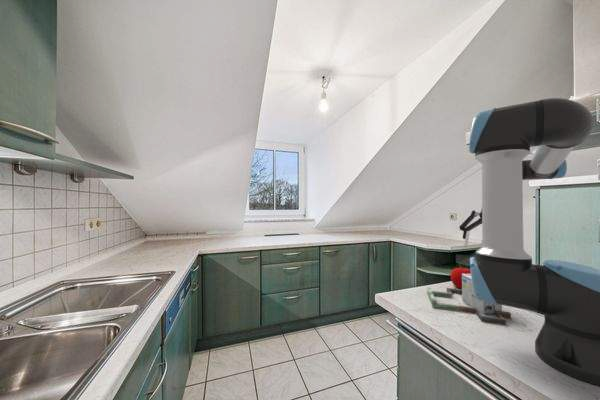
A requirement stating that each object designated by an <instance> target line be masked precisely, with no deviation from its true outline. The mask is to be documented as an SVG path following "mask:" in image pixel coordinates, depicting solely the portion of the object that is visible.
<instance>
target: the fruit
mask: <svg viewBox="0 0 600 400" xmlns="http://www.w3.org/2000/svg"><path fill="white" fill-rule="evenodd" d="M462 274H471V270H470V269H469V268H464V267H462V266H461V264H459V267H457V268H456V267H455V268H453V269H452V271H451V272H450V281H451V282H452V284H453V285H454V287H456V288H457V289H462Z"/></svg>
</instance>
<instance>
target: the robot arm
mask: <svg viewBox="0 0 600 400" xmlns="http://www.w3.org/2000/svg"><path fill="white" fill-rule="evenodd" d="M594 119H595V118H594V116H593V114H592V112H591V111H590V110H589V109H588V108H587V107H586V106H585V105H584V104H582V103H579V102H577V101H574V100H571V99H567V98H562V97H560V98H558V97H554V98H553V97H552V98H550V97H549V98H544V99H540V100H535V101H530V102H525V103H517V104H514V105H508V106H503V107H497V108H496V107H494V108H492V109H488V110H483V111H479V112H478V113H477V114H475V116H474V118H473V119H472V123H471V124H472V125H471V129H470V136H469V145H468V146H469V147H468V151H469V154H474V157H475V159H474V160H477V161H478V162H479V163H481V210H480V212H478V211H475V210H472V211H471V213H470V215H469V216H468V217H467V218H466V219H465V220H464V221H463V222H462V223H461V224H460V225H459V230H460V231H463V233H462V239H464V244H463V247H464V248H468V243H469V238H470V231H472V230H473V229H475V228H477V227H478V226H480V225H482V226H481V229H482V231H481V236H482V239H481V241H482V244H481V245H482V246H481V247H479V249H477V250H475V256H471V257H469V268H470V269H469V270H471V277H472V283H473V288H474V292H475V295H476V296H477V297H478V298H479V299H481V300H483V301H487V302H491V303H495V304H497V305H498V304H500V305H502V306H505V307H506V306H507V307H511V308H515V309H520V310H526V311H530V312H535V313H540V314H544V323H543V325H542V326H541V328H540V330H539V332H538V334H537V336H536V338H535V341H534V351H535V354H536V356H538V357H539V358H540V359H541V360H542V361H544V362H545V363H546V364H547V365H549V366H551V367H553V368H554V369H556V370H558V371H560V372H562V373H564V374H566V375H568V376H571V377H572V378H575V379H578V380H580V381H582V382H586V383H589V384H592V385H595V386H599V387H600V268H599V269H598V268H595V267H593V266H592V267H591V266H588V265H584V264H580V263H574V262H570V261H565V260H558V259H557V260H556V259H545V260H544V262H542V264H541V265H540V264H534V263H533V257H532V256H531V255H530V254H529V253H527V251H526V250H525V249H524V248H525V247H524V244H525V243H524V199H523V197H524V193H523V192H524V190H523V185H524V184H523V181H526V180H527V181H528V180H553V179H561V178H564V177H565V176H566V175H567V169H568V168H567V167H568V166H567V165H568V164H567V160H566V159H567V157H568V156H569V155H570V154H571V152H572V150H573V149H574V148H575V147H577V146H579V145H581V144H582V143H583V142H585V141H586V140H587V139H588V138H589V137H590V135H591V134H592V132H593V131H594V130H593V129H594V126H595V120H594ZM531 147H532V148H533V147H536V149H535V151H534V154H533V157H532V159H526V160H525V158H526V157H528V156H529V155H530V154H531ZM478 216H479V217H480V218H478V219H477V220H475V221H474V222H472V221H473V220H474V219H475V218H476V217H478ZM471 222H472V223H471ZM470 223H471V224H470Z"/></svg>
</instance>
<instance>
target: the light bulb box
mask: <svg viewBox="0 0 600 400" xmlns="http://www.w3.org/2000/svg"><path fill="white" fill-rule="evenodd" d="M461 290H462V294H461V298H462V299H461V301H463V303H464V304H466V305H468V307H474V308H477V309H478V310H479V312H480V313H481V314H482V315H494V310H496V311H503V305H500V304H498V305H497V304H495V303H491V302H487V301H483V300H481V299H479V298H478V297H477V296H476V295H475V292H474V288H473V283H472V277H471V274H462V288H461Z"/></svg>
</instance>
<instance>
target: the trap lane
mask: <svg viewBox="0 0 600 400" xmlns="http://www.w3.org/2000/svg"><path fill="white" fill-rule="evenodd" d="M426 290H427V298H428V299H429V302H430V304H431V308H434V309H435V308H436V309H442V310H448V311H456V312H464V313H470V314H476V316H477V317H478V319H479V320H480V321H481V322H483V323H491V324H495V325H496V324H497V325H505V326H506V323H507V319H512V313H511V312H509V311H503V310H502V311H496V310H494V314H493V315H494V316H491V315H485V314H482V313H481V312H479V310H478V309H477V308H474V307H471V306H467V305H466V306H465V305H458V304H450V303H443V302H437V299H436V298H435V296H436V297H442V296H443V297H444V298H450V297H452V298H453V294H457V293H461V294H460V295H462V288H451V287H446V291H439V290H432V288H431V287H427V288H426ZM451 292H452V293H451ZM443 297H442V298H443ZM504 317H505V318H506V319H505V318H504Z"/></svg>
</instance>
